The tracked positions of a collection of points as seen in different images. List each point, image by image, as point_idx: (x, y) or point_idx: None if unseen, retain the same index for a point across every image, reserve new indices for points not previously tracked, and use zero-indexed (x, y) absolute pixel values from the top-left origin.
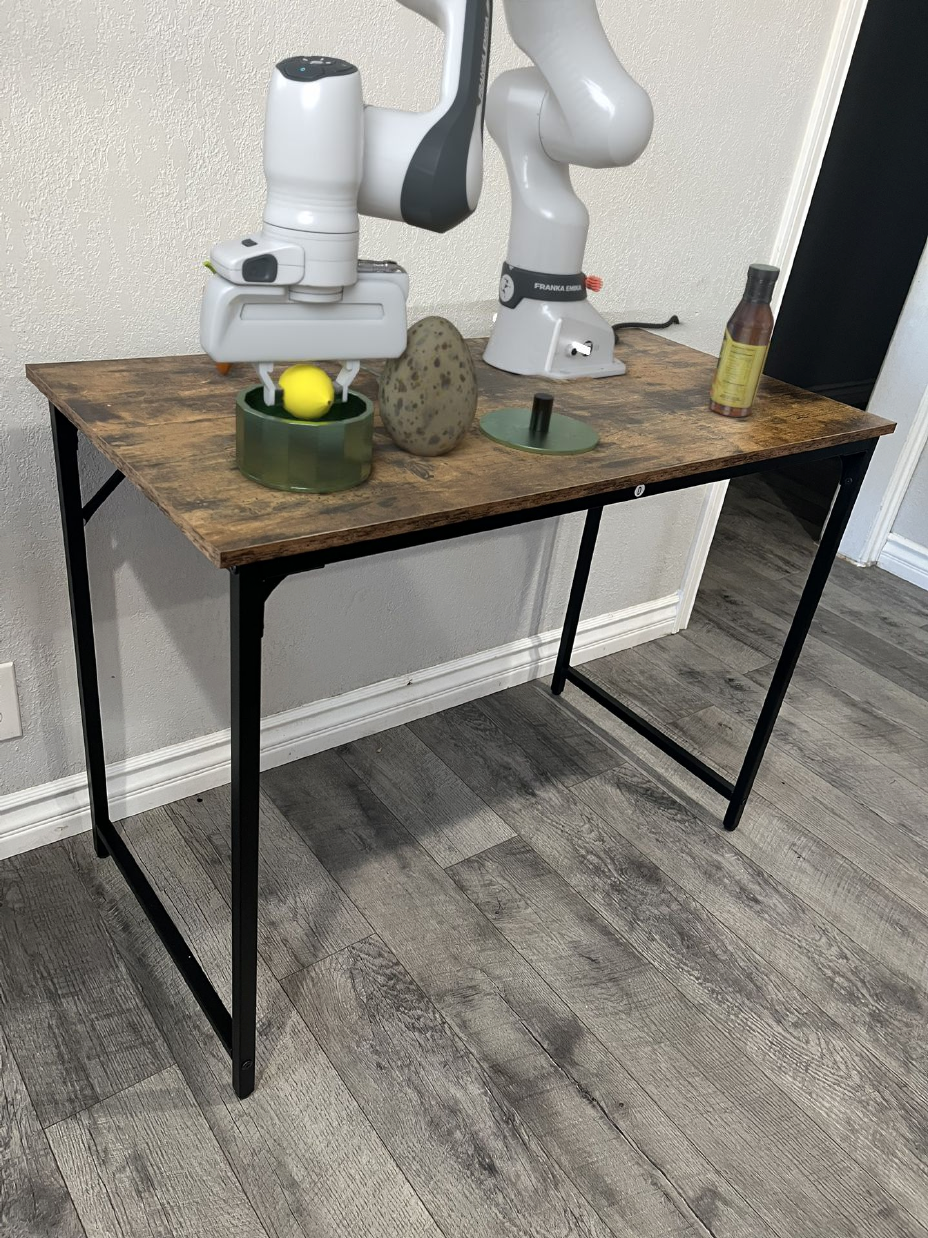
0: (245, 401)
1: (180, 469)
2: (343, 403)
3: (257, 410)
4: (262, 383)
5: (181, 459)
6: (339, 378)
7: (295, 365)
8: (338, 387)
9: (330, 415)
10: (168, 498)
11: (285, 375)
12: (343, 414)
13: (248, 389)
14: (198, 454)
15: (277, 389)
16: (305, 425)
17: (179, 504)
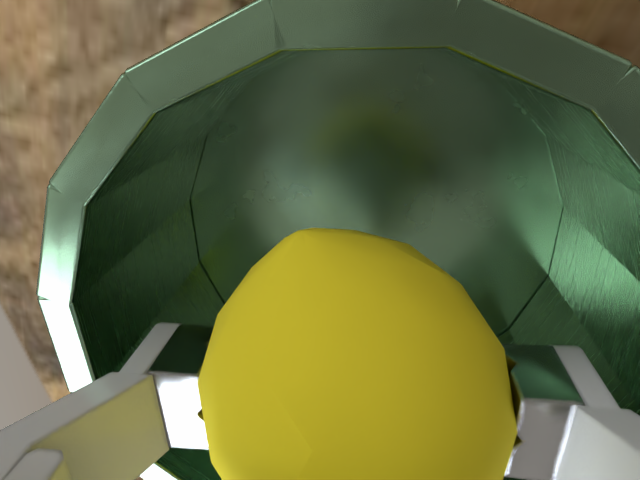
0: (100, 225)
1: (28, 169)
2: (638, 216)
3: (210, 93)
4: (109, 373)
5: (26, 94)
6: (594, 453)
7: (291, 446)
8: (529, 474)
9: (568, 134)
10: (14, 318)
11: (213, 452)
12: (609, 201)
13: (102, 153)
14: (73, 61)
15: (178, 445)
16: None
17: (38, 347)
